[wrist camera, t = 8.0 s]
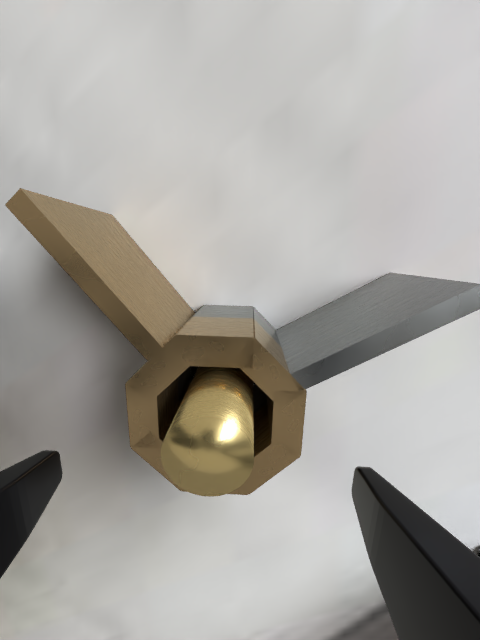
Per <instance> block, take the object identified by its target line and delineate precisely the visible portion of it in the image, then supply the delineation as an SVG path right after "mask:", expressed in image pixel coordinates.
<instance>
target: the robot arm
mask: <svg viewBox="0 0 480 640" xmlns="http://www.w3.org/2000/svg"><path fill="white" fill-rule="evenodd" d="M61 479H62V467H61V460H60V454H59V453H58V452H57V451H49V450H45V451H41V452H39V453H37V454H35V455H33V456H31V457H29V458H27V459H25V460H23V461H21V462H19V463H17V464H15V465H13V466H11V467H9V468H7V469H5V470H3V471H1V472H0V578H1V577H2V576H3V574H4V573H5V571H6V570H7V568H8V567H9V565H10V564H11V562H12V561H13V559H14V558H15V556H16V555H17V553H18V552H19V551H20V549H21V548H22V546H23V545H24V543H25V541H26V540H27V538H28V537H29V535H30V533H31V532H32V530H33V529H34V527H35V525H36V523H37V522H38V520H39V518H40V516H41V515H42V513H43V511H44V509H45V508H46V506H47V504H48V502H49V501H50V499H51V497H52V496H53V494H54V492H55V490H56V489H57V487H58V485H59V483H60V481H61ZM352 498H353V502H354V505H355V509H356V513H357V516H358V520H359V524H360V527H361V531H362V535H363V538H364V542H365V546H366V549H367V553H368V556H369V559H370V562H371V565H372V568H373V571H374V574H375V576H376V579H377V582H378V584H379V587H380V590H381V592H382V595H383V598H384V601H385V603H386V606H387V609H388V611H389V614H390V617H391V619H392V622H393V625H394V627H395V630H396V633H397V636H398V638H399V640H480V556H477V555H476V554H475V553H474V552H472V551H471V550H470V549H469V548H468V547H466V546H465V545H464V544H463V543H462V542H460V541H459V540H458V539H457V538H456V537H454V536H453V535H452V534H451V533H449V532H448V531H447V530H446V529H445V528H443V527H442V526H441V525H440V524H439V523H437V522H436V521H435V520H434V519H432V518H431V517H430V516H429V515H428V514H426V513H425V512H424V511H423V510H422V509H420V508H419V507H418V506H417V505H416V504H414V503H413V502H412V501H411V500H409V499H408V498H407V497H406V496H405V495H403V494H402V493H401V492H400V491H399V490H397V489H396V488H395V487H394V486H392V485H391V484H390V483H389V482H388V481H386V480H385V479H384V478H383V477H382V476H380V475H379V474H378V473H377V472H376V471H374V470H373V469H372V468H370V467H356V468H355V471H354V478H353V485H352Z"/></svg>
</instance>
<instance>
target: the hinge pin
mask: <svg viewBox="0 0 480 640" xmlns="http://www.w3.org/2000/svg"><path fill="white" fill-rule="evenodd" d="M161 461H162V465H163V467H164V470H165V472H166V473H167V475H168V476H169V478H170V479H171V480H172V481H173V482H174V483H175V484H176V485H178V486H179V487H180V488H182V489H184V490H186V491H188V492H190V493H193V494H196V495H201V496H220V495H224V494H227V493H230V492H232V491H234V490H236V489H237V488H239V487H240V486H241V485H243V484H244V483H245V481H246V480H247V479H248V477H249V476H250V474H251V472H252V469H253V465H254V418H253V380H251V379H250V378H249V377H248V376H247V375H246V374H245V373H244V372H243V371H242V370H241V369H240V368H227V367H202V366H199V367H198V369H197V371H196V373H195V375H194V377H193V379H192V381H191V383H190V386H189V388H188V390H187V392H186V394H185V396H184V398H183V400H182V402H181V404H180V407H179V409H178V411H177V413H176V415H175V417H174V419H173V421H172V423H171V426H170V428H169V430H168V432H167V434H166V436H165V438H164V440H163V443H162V447H161Z"/></svg>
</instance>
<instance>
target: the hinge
mask: <svg viewBox="0 0 480 640" xmlns="http://www.w3.org/2000/svg"><path fill="white" fill-rule="evenodd" d="M5 205H6V207H7V208H8V209H9V210H10V211H11V212H12V213H13V214H14V215H15V216H16V218H17V219H18V220H19V221H20V222H21V223H22V224H23V225H24V226H25V227H26V228H27V230H28V231H29V232H30V233H31V234H32V235H33V236H34V237H35V238H36V239H37V241H38V242H39V243H40V244H41V245H42V246H43V247H44V248H45V249H46V250H47V251H48V253H49V254H50V255H51V256H52V257H53V258H54V259H55V260H56V261H57V262H58V263H59V265H60V266H61V267H62V268H63V269H64V270H65V271H66V272H67V273H68V274H69V276H70V277H71V278H72V279H73V280H74V281H75V282H76V283H77V284H78V285H79V286H80V288H81V289H82V290H83V291H84V292H85V293H86V294H87V295H88V296H89V297H90V299H91V300H92V301H93V302H94V303H95V304H96V305H97V306H98V307H99V308H100V309H101V311H102V312H103V313H104V314H105V315H106V316H107V317H108V318H109V319H110V320H111V322H112V323H113V324H114V325H115V326H116V327H117V328H118V329H119V330H120V331H121V332H122V334H123V335H124V336H125V337H126V338H127V339H128V340H129V341H130V342H131V343H132V344H133V346H134V347H135V348H136V349H137V350H138V351H139V352H140V353H141V354H142V355H143V357H144V358H145V359H146V360H147V362H146V363H145V364H144V365H143V366H142V367H141V368H140V369H139V370H138V371H137V372H136V373H135V374H134V375H133V376H132V377H131V378H130V379H129V380H128V381H127V382H126V384H125V388H126V400H127V412H128V424H129V437H130V447H131V449H132V450H134V451H135V452H136V453H137V454H138V455H139V456H141V457H142V458H143V459H144V460H145V461H146V462H148V463H149V464H150V465H151V466H152V467H153V468H155V469H156V470H157V471H158V472H159V473H160V474H162V475H163V476H164V477H165V478H166V479H167V480H168V481H170V482H171V483H172V484H173V485H174V486H175V487H177V488H178V489H179V490H180V491H181V490H182V491H186V490H184V489H182V488H180V487H179V486H178V485H176V484H175V483H174V482H173V481H172V480H171V479H170V478H169V476H168V475H167V473H166V472H165V470H164V467H163V465H162V461H161V447H162V443H163V440H164V438H165V436H166V434H167V432H168V430H169V428H170V426H171V423H172V421H173V419H174V417H175V415H176V413H177V411H178V409H179V407H180V404H181V402H182V400H183V398H184V396H185V394H186V392H187V390H188V388H189V386H190V383H191V381H192V379H193V376H192V375H191V366H202V367H227V368H240V369H241V370H242V371H243V372H244V373H245V374H246V375H247V376H248V377H249V378H250V379H251V380H253V381H254V382H255V383H256V385H255V386H253V418H254V465H253V469H252V472H251V474H250V476H249V477H248V479H247V480H246V481H245V483H244V484H243V485H241V486H240V487H239V488H237V489H236V490H234V491H232V492H230V493H227V494H240V495H248V494H250V493H252V492H253V491H254V490H256V489H257V488H259V487H260V486H261V485H263V484H264V483H265V482H267V481H268V480H269V479H271V478H272V477H273V476H275V475H276V474H277V473H279V472H280V471H281V470H283V469H284V468H286V467H287V466H288V465H290V464H291V463H292V462H294V461H295V460H296V459H298V458H299V457H300V456H301V448H302V437H303V426H304V415H305V403H306V389H307V388H309V387H311V386H313V385H316V384H318V383H320V382H322V381H324V380H327V379H329V378H331V377H333V376H335V375H337V374H340V373H342V372H344V371H346V370H348V369H350V368H353V367H355V366H357V365H359V364H361V363H364V362H366V361H368V360H370V359H372V358H374V357H377V356H379V355H381V354H383V353H385V352H387V351H390V350H392V349H394V348H396V347H398V346H400V345H403V344H405V343H407V342H409V341H411V340H414V339H416V338H418V337H420V336H422V335H424V334H427V333H429V332H431V331H433V330H435V329H437V328H440V327H442V326H444V325H446V324H448V323H450V322H453V321H455V320H457V319H459V318H461V317H464V316H466V315H468V314H470V313H472V312H474V311H477V310H479V309H480V284H476V283H468V282H460V281H453V280H445V279H437V278H429V277H421V276H413V275H405V274H397V273H389V274H387V275H385V276H383V277H381V278H379V279H377V280H375V281H373V282H371V283H369V284H367V285H365V286H363V287H361V288H359V289H357V290H355V291H353V292H351V293H349V294H347V295H345V296H343V297H341V298H339V299H337V300H335V301H333V302H331V303H329V304H327V305H325V306H323V307H321V308H319V309H317V310H315V311H313V312H311V313H309V314H307V315H305V316H303V317H301V318H299V319H297V320H295V321H293V322H291V323H290V324H288V325H286V326H284V327H282V328H280V329H278V330H275V329H274V328H273V327H272V326H271V325H270V324H269V322H268V321H267V320H266V319H265V318H264V317H263V316H262V315H261V314H260V313H259V312H258V311H257V310H256V309H255V308H254V307H252V306H220V305H203V306H202V307H201V308H200V309H199V310H198V311H197V312H196V313H195V312H194V311H193V310H192V309H191V308H190V307H189V305H188V304H187V303H186V302H185V301H184V299H183V298H182V297H181V296H180V295H179V294H178V292H177V291H176V290H175V289H174V288H173V286H172V285H171V284H170V283H169V282H168V281H167V279H166V278H165V277H164V276H163V275H162V273H161V272H160V271H159V270H158V269H157V267H156V266H155V265H154V264H153V263H152V262H151V260H150V259H149V258H148V257H147V256H146V254H145V253H144V252H143V251H142V250H141V249H140V247H139V246H138V245H137V244H136V243H135V241H134V240H133V239H132V238H131V237H130V236H129V234H128V233H127V232H126V231H125V230H124V228H123V227H122V226H121V225H120V224H119V222H118V221H117V220H116V219H115V218H114V217H113V215H111V214H107V213H104V212H100V211H97V210H93V209H90V208H86V207H83V206H80V205H76V204H73V203H69V202H66V201H62V200H59V199H55V198H52V197H48V196H45V195H41V194H38V193H34V192H31V191H28V190H24V189H21V188H20V189H19V190H18V191H17V192H16V194H15V195H14V196H13V197H12V198H11V199H10V200H9V201H8V202H7V203H6V204H5ZM186 492H188V491H186Z"/></svg>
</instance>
